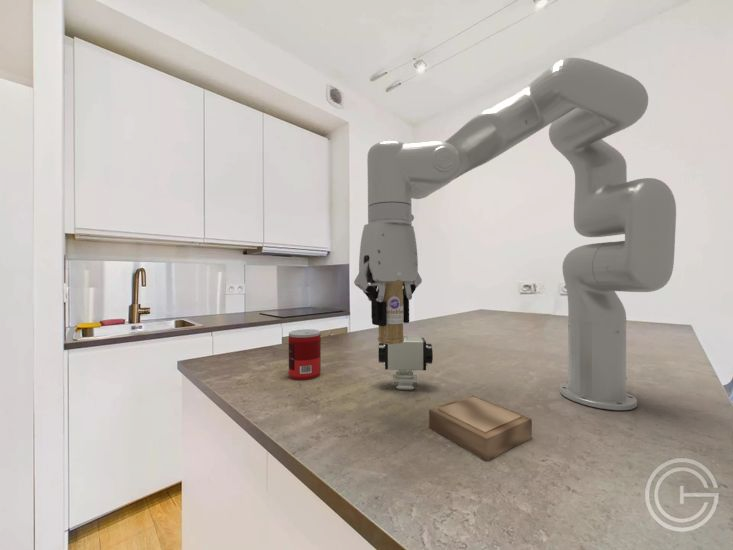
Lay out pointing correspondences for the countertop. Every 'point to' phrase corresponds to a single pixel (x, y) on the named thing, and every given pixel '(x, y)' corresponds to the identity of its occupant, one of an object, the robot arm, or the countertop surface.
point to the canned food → (304, 354)
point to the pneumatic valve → (406, 360)
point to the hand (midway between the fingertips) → (390, 322)
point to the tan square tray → (480, 426)
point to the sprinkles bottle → (393, 314)
